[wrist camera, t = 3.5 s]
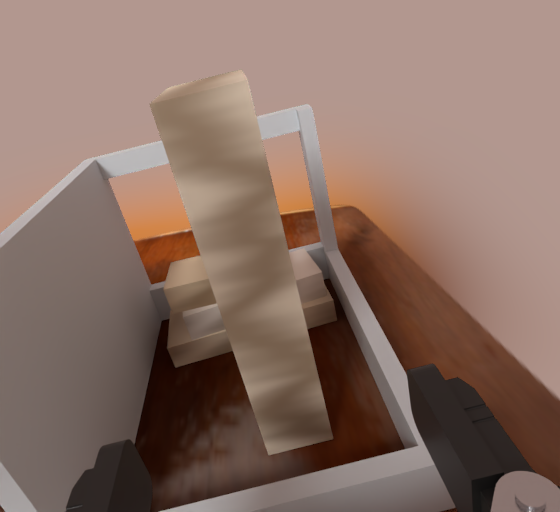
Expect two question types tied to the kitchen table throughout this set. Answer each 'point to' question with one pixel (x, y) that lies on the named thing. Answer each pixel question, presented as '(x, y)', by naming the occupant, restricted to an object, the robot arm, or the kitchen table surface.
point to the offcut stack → (206, 316)
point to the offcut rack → (142, 343)
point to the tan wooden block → (244, 252)
